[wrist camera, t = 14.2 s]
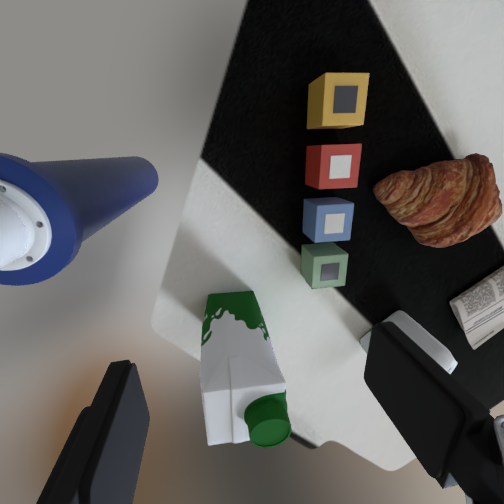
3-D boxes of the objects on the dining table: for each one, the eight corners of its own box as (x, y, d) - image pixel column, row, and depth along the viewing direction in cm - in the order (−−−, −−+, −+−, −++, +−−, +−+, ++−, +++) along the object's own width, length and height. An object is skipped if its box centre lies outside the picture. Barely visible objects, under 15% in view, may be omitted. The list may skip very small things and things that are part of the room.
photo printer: (366, 351, 49) (412, 411, 38) (354, 340, 48) (399, 399, 37) (409, 318, 48) (471, 370, 36) (398, 305, 46) (459, 355, 35)
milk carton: (258, 330, 44) (292, 459, 25) (205, 335, 42) (200, 475, 24) (258, 285, 40) (298, 396, 22) (201, 289, 39) (192, 410, 21)
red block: (306, 146, 34) (321, 145, 29) (341, 144, 34) (362, 143, 30) (304, 184, 36) (319, 189, 31) (338, 182, 36) (357, 187, 32)
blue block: (302, 232, 38) (314, 243, 34) (303, 198, 36) (317, 205, 32) (333, 229, 39) (350, 240, 34) (336, 196, 37) (354, 203, 32)
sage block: (300, 273, 41) (312, 289, 36) (301, 244, 39) (314, 257, 34) (329, 270, 41) (345, 286, 37) (332, 242, 40) (348, 254, 35)
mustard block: (306, 129, 33) (322, 125, 28) (308, 84, 31) (325, 72, 26) (342, 128, 34) (364, 124, 29) (346, 84, 32) (370, 72, 27)
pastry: (394, 265, 43) (431, 288, 36) (367, 183, 37) (406, 191, 30) (485, 215, 42) (543, 229, 35) (473, 123, 36) (540, 116, 29)
